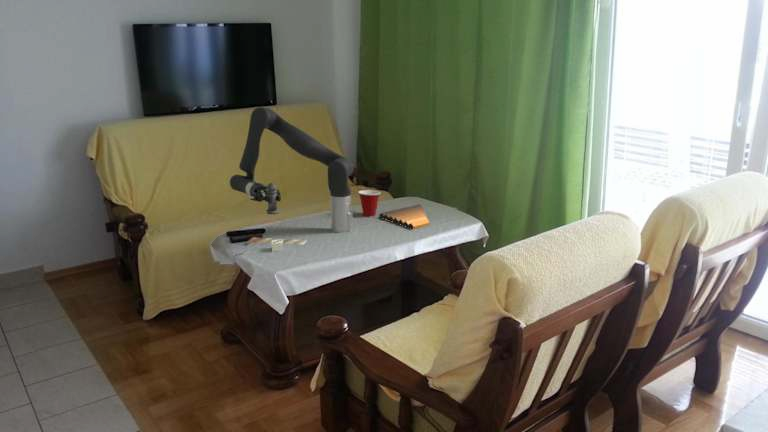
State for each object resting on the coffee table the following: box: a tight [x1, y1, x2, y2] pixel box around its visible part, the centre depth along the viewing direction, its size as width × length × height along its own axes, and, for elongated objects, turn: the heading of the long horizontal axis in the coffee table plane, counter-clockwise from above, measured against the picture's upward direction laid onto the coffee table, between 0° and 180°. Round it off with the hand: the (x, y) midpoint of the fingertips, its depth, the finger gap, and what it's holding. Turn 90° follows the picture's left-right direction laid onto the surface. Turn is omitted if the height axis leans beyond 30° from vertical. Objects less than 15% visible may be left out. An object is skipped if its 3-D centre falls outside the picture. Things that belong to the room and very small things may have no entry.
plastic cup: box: [358, 189, 381, 217], centre depth 300 cm, size 11×11×12 cm
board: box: [245, 236, 308, 246], centre depth 261 cm, size 26×8×1 cm, turn 81°
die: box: [271, 238, 284, 252], centre depth 251 cm, size 4×4×5 cm
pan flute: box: [379, 204, 431, 230], centre depth 296 cm, size 25×3×25 cm
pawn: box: [266, 182, 280, 215], centre depth 256 cm, size 5×5×13 cm
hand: (275, 199), depth 254 cm, fingers closed on pawn, 3 cm apart
